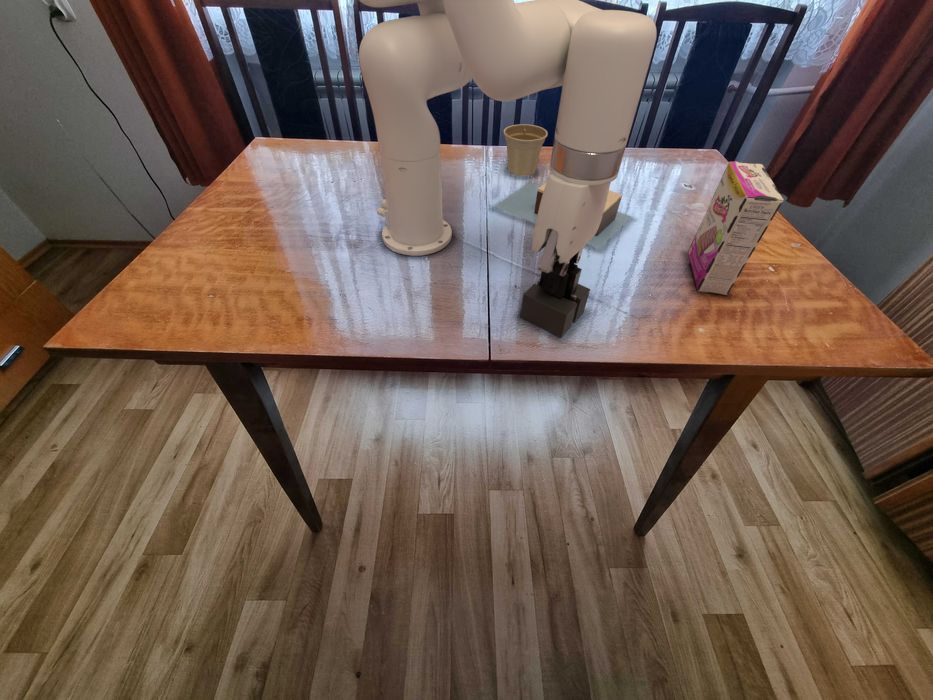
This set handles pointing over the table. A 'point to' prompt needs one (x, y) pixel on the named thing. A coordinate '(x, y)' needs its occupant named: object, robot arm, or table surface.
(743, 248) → the candy bar box
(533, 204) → the platter
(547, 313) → the knife block
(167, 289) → the table surface
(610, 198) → the cake
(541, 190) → the two-tone brown block
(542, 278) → the knife
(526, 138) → the flower pot
